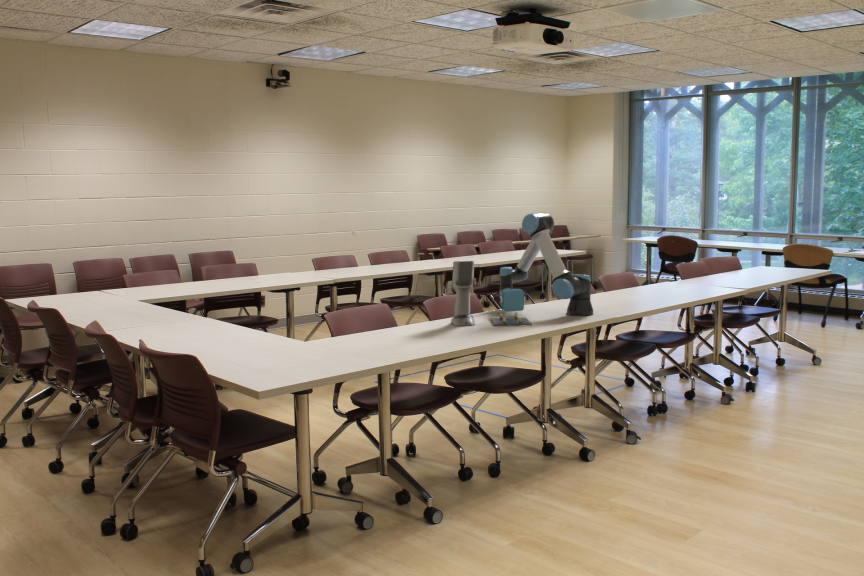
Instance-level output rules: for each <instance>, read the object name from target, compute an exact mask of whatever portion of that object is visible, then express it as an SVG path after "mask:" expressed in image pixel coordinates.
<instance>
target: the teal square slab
mask: <svg viewBox="0 0 864 576" xmlns="http://www.w3.org/2000/svg"><path fill="white" fill-rule="evenodd" d="M524 291H525V290H523V289H520V288H512V289H508V290H502V298H503V303H501V309H502V311H504V312H521V311H523V310H524V308H525V302H524V295H525V292H524Z"/></svg>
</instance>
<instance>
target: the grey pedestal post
mask: <svg viewBox="0 0 864 576" xmlns="http://www.w3.org/2000/svg"><path fill="white" fill-rule="evenodd" d="M474 273H475V260H465V261H464V260H463V261H462V260H461V261H460V260H456V261H453V264H452V278H451V279H452V280H451V288H452V290H453V291H454V292H455V293H456V294H455V297H456V298H455V304H454V310H453V316H452V318H451V320H450V323H451V324H452V323H453V324H452V325H454V326H456V327H469V326H475V324H476V323H475V317H474V316H473V315H472V314H471V290H472V288H473V285H474V284H473V283H474V278H475V277H474V276H475V274H474Z"/></svg>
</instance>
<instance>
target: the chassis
mask: <svg viewBox="0 0 864 576" xmlns="http://www.w3.org/2000/svg"><path fill="white" fill-rule="evenodd" d="M489 321H490V322H491V323H492V325H493V327H509V326H508V325H531V326H532V323H531V321H530V320H529V319H528V318H527V317H518V312H515V313H514V317H503V313H502V312H500V313H499V317H495V318H493V317H491V318H490V319H489Z"/></svg>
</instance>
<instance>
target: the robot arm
mask: <svg viewBox="0 0 864 576" xmlns="http://www.w3.org/2000/svg"><path fill="white" fill-rule="evenodd" d="M554 228H555V220H554V218H553V216H552V215H551V214H549V213H547V212H536V213H535V212H531V213H528V214H526V215H525V216H524V217H523V218H522V222H521V230H522V231H523V232H524V233H525V234H527V235H529V237H530V239H531V240H530V241H529V243H528V246H527V247H526V249H525V251H524V252H523V254H522V256H521V258H520V260H519V262H518V263H517V264H516V267H515V268H514V269H513V267H512V266H503V267H502V266H501V267H500V269H499V294H497V295H494V301H495V302H496V301H497V303H501V304H502V303H503V298H502V290H508V289H513V283H515V282H522V281H525V280H527V279H528V277H529V270H530V268H531V266H532V265H533V262H534V261H535V259H536V258H537V255H538V254H539V252H540V253H541V256H542V257H543V259H544V261H545V263H546V265H547V268H548V269H549V271H550V273H551V276H552V279H551V282H552V284H551V285H552V287H551V288H552V292H553V293H552V294H554V296H555V297H556V298H558V299H562V300H568V299H569V303H568V305H567V307H566V308H567V309H566V314H567V315H570V316H592V315H594V308H593V305H592V301H591V294H592V293H591V291H592V290H591V289H592V288H591V287H592V286H591V284H592V281H591V279H592V278H591V276H590V275H589V274H577V273H572V272H571V271H569V270H567V268H566V266H565V264H564V262H563V260H562V258H561V256H560V254H559V252H558V250H557V247H556V246H555V243H554V242H553V240H552V238H551V235H552V234H553V230H554ZM529 299H530V298H529V295H528V294H527V295H526V293H524V303H526V301H529Z"/></svg>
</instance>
